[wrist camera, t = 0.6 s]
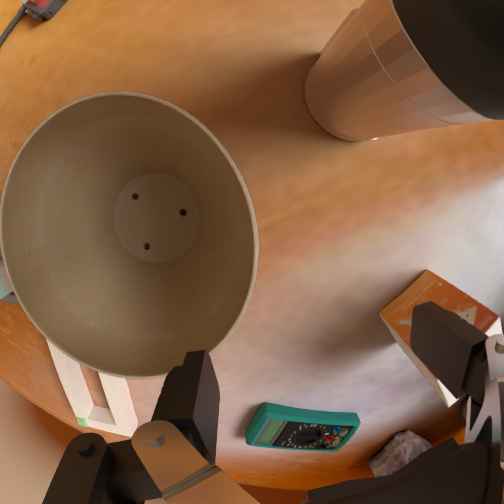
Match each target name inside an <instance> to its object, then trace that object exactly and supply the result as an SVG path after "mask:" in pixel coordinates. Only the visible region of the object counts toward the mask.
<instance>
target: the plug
mask: <svg viewBox="0 0 504 504" xmlns="http://www.w3.org/2000/svg"><path fill="white" fill-rule="evenodd" d="M12 291H13V289H12V287H11V284H10V282H9V279H8V276H7V273H6V270H5V266H4V263H3V259H0V299H2V298H3V297H5V296H6V295H8V294H9V293H11V292H12Z"/></svg>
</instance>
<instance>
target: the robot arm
mask: <svg viewBox="0 0 504 504" xmlns="http://www.w3.org/2000/svg"><path fill="white" fill-rule="evenodd" d="M304 95H305V101H306V104H307V107H308V109H309V112H310V113H311V115H312V116H313V118H314V119H315V121H316V122H317V123H318V124H319V125H320V126H321V127H322V128H323V129H324V130H326V131H327V132H328V133H330V134H331V135H333V136H335V137H337V138H339V139H343V140H346V141H355V142H359V141H366V140H372V139H376V138H380V137H385V136H390V135H395V134H401V133H406V132H412V131H417V130H423V129H429V128H436V127H443V126H450V125H457V124H464V123H472V122H482V121H492V120H504V0H366V1H365V2H364V3H363V4H362V5H361V7H360V8H359V9H354V10H352V11H351V12H350V14H349V15H348V16H347V17H346V19H345V20H344V21H343V23H342V24H341V25H340V27H339V28H338V29H337V31H336V32H335V33H334V34H333V36H332V37H331V38H330V40H329V41H328V43H327V44H326V45H325V47H324V48H323V49H322V51H321V52H320V58H319V59H318V60H317V62H316V63H315V64H314V66H313V67H312V68H311V70H310V72H309V73H308V75H307V77H306V81H305V85H304ZM410 345H411V348H412V351H413V353H414V354H415V355H416V356H417V357H418V358H419V359H420V360H421V361H422V362H423V363H424V364H425V366H426V367H427V368H428V369H429V370H430V371H431V372H432V373H433V374H434V375H435V376H436V377H437V378H438V380H439V381H440V382H441V383H442V384H443V385H444V386H445V387H446V388H447V389H448V391H449V392H450V393H451V394H452V395H453V396H454V397H455V398H456V399H459V398H461V397H463V396H464V395H466V394H469V395H470V397H469V399H468V403H467V419H466V432H465V440H464V443H463V444H459V445H458V444H457V443H456V441H455V440H454V438H453V437H452V438H450V439H448V440H446V441H444V442H442V443H441V444H439V445H437V446H435V447H433V448H431V449H429V450H427V451H424V452H422V453H421V454H420V455H419V456H417V457H416V458H415V459H413V460H412V461H410V462H409V463H408V464H406V465H405V466H403V467H402V468H401V469H399V470H398V471H396V472H395V473H393V474H391V475H387V476H381V477H374V478H366V479H358V480H348V481H344V482H341V483H337V484H333V485H329V486H325V487H321V488H316V489H312V490H307V494H308V500H306V501H304V502H301V503H299V504H504V334H495V335H492V336H490V337H489V336H488V335H486V334H485V333H483V332H482V331H481V330H479V329H478V328H476V327H475V326H473V325H472V324H471V323H468V321H466V320H465V319H462V317H460V316H459V315H457V314H456V313H454V312H452V311H449V310H446V309H443V308H442V307H440V306H439V305H437V304H436V303H434V302H433V301H428V302H424V303H421V304H418V305H415V306H414V308H413V311H412V323H411V335H410ZM163 385H164V386H163V387H162V390H161V394H160V396H159V399H158V401H157V404H156V407H155V410H154V413H153V416H152V419H151V421H150V422H147V423H145V424H143V425H141V426H140V427H139V428H137V429H136V431H135V432H134V433H133V435H132V439H129V440H125V441H119V442H114V443H108V444H107V442H106V441H105V440H104V438H103V437H102V436H101V435H99V434H96V433H84V434H81V435H79V436H77V437H75V438H74V439H73V440H71V442H70V443H69V444H68V446H67V448H66V450H65V452H64V454H63V457H62V459H61V461H60V463H59V466H58V468H57V470H56V472H55V474H54V477H53V479H52V481H51V484H50V486H49V488H48V491H47V493H46V496H45V498H44V500H43V503H42V504H144V503H145V500H150V499H156V498H162V497H163V498H164V500H165V501H166V503H167V504H260V503H259V502H258V501H256V500H255V499H254V498H253V497H252V496H250V495H249V494H248V493H247V492H246V491H245V490H243V489H242V488H241V487H240V486H239V485H238V484H237V483H236V482H234V481H233V480H232V479H231V478H230V477H229V476H228V475H227V474H226V473H225V472H224V471H223V470H221V469H220V468H219V467H218V466H211V465H215V456H216V442H217V428H218V415H219V402H220V392H219V385H218V381H217V378H216V375H215V372H214V368H213V365H212V362H211V358H210V355H209V352H208V350H199V351H190V352H187V353H186V355H185V359H184V362H183V365H182V366H175V367H174V368H173V369H172V370H171V371H170V372H169V373H168V374H167V376H166V379H165V381H164V384H163Z"/></svg>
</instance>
